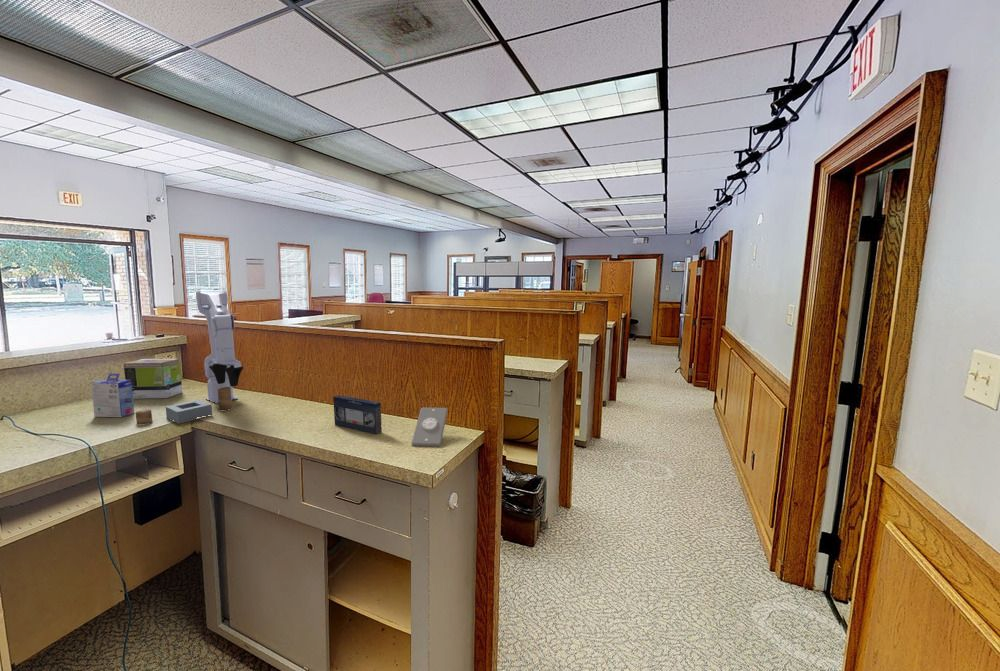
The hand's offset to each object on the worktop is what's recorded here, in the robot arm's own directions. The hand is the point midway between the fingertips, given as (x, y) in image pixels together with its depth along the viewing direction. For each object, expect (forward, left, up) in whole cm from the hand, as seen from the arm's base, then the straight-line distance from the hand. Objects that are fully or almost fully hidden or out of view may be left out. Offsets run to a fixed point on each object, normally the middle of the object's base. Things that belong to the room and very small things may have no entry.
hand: (227, 384), depth 152 cm
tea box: (-44, -9, -10) cm, 45 cm away
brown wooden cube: (-8, -23, -9) cm, 26 cm away
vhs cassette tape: (+54, +14, -10) cm, 57 cm away
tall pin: (-2, -1, -9) cm, 10 cm away
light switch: (+79, +22, -10) cm, 83 cm away
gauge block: (-3, -12, -9) cm, 15 cm away
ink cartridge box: (-26, -26, -10) cm, 37 cm away
